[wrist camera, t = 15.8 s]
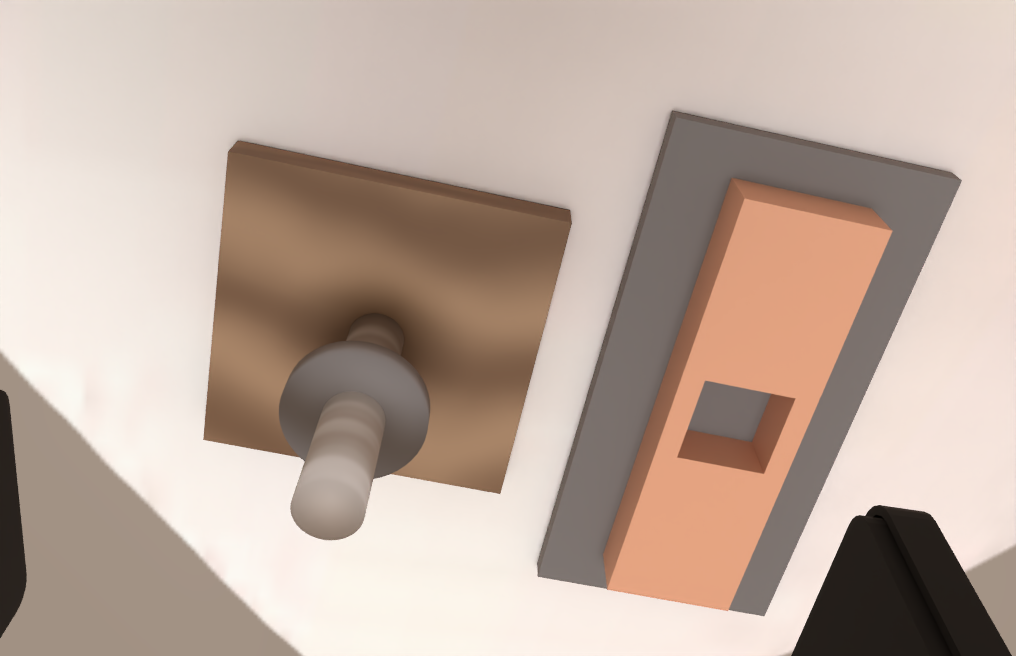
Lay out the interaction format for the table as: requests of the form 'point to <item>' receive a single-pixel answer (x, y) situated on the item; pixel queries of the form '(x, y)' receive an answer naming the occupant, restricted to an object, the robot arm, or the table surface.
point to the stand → (374, 326)
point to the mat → (661, 309)
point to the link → (746, 364)
